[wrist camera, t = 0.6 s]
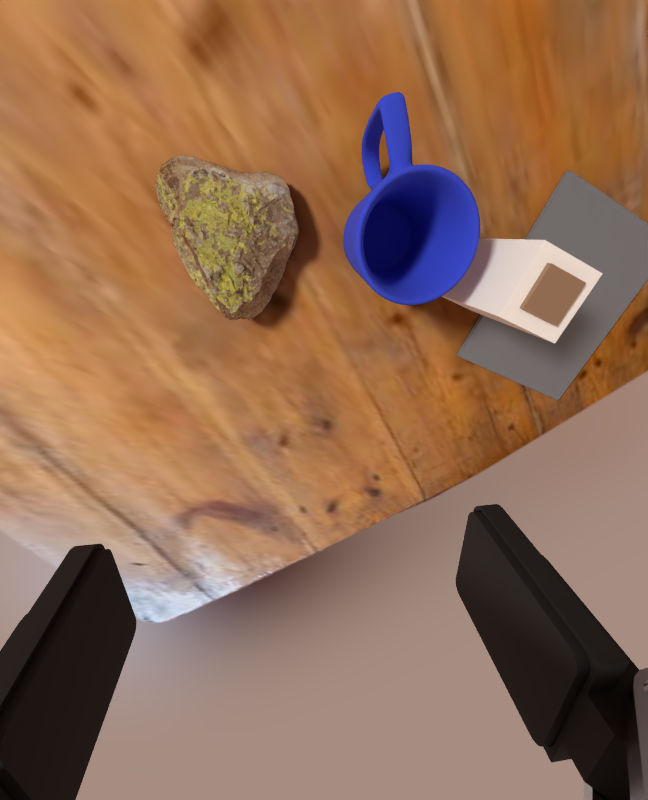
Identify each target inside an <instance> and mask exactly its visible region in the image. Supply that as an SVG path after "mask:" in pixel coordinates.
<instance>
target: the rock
mask: <svg viewBox="0 0 648 800" xmlns="http://www.w3.org/2000/svg"><path fill="white" fill-rule="evenodd" d="M155 189H156V193H157V198H158V201H159V203H160V206H161V208H162V210H163V214H164V215H165V216H166V219H167V220H168V221H170V222H171V224H172V226H171V234H172V236H173V241H174V245H175V247H176V249H177V251H178V253H179V256H180V257H181V258H182V262H183V264H184V265H185V267H186V269H187V271H188V273H189V274H190V276H191V278H192V279H193V280H194V281H195V282H196V283H195V284H196V285H197V286H198V287H200V288H201V289H202V290H203V291H204V292H206V293H207V295H208V298H209V299H210V301H211V302H212V303H213V304H214V305H215V307H216V308H217V309H218V310H219V311H220V312H221V313H222V314H223V316H224V317H226V318H228V319H229V320H236V319H239V318H242V319H252V318H253V317H255V316H257V315H258V314H259V313H261V312H262V311H263V309H264V308H265V306H266V305H267V304H268V303H269V301H270V300H271V298H272V294H273V293H274V292H275V290H276V289H277V287H278V286H279V282H280V280H281V279H282V277H283V273H284V271H285V269H286V264H287V261H288V258H289V256H290V254H291V252H292V250H293V248H294V246H295V245H296V241H297V238H298V235H299V231H300V230H299V224H298V221H297V220H296V217H295V212H294V205H293V201H292V199H291V197H290V190H289V188H288V186H287V184H286V182H285V181H284V180H283V179H281V178H280V176H275V174H269V173H268V172H256V173H243V172H238V171H236V170H231V169H228V168H226V167H223V166H218V165H217V164H215V163H211V162H207V161H203V160H200V159H198V158H196V157H193V156H174V157H173V158H172V159H170V160H168V161H167V162H166V163H165V164H163V165H161V167H160V170H159V172H158V175H157V178H156V183H155Z"/></svg>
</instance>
